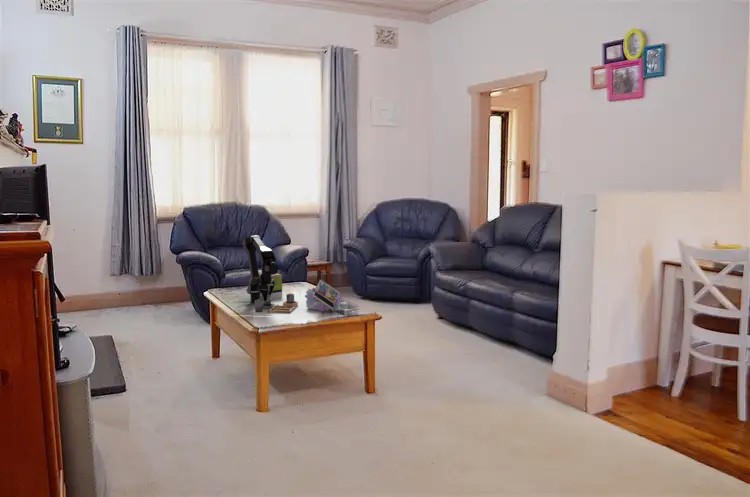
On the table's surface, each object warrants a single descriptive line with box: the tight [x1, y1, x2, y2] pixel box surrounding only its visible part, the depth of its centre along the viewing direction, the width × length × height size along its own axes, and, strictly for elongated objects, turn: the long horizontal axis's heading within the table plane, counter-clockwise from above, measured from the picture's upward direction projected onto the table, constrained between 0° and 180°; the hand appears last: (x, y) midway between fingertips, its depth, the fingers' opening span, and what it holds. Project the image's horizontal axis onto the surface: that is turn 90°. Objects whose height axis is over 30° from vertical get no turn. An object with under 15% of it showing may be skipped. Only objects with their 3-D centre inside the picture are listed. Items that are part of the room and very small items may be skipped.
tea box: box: [259, 272, 283, 300], centre depth 399 cm, size 15×10×15 cm, turn 37°
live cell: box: [262, 294, 272, 306], centre depth 363 cm, size 4×4×8 cm
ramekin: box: [282, 300, 299, 308], centre depth 367 cm, size 8×8×3 cm
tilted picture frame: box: [304, 279, 342, 313], centre depth 361 cm, size 20×22×18 cm
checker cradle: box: [263, 303, 282, 311], centre depth 363 cm, size 12×10×2 cm
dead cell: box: [285, 292, 295, 303], centre depth 367 cm, size 4×4×8 cm
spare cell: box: [254, 298, 264, 313], centre depth 352 cm, size 4×4×8 cm
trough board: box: [268, 304, 296, 314], centre depth 356 cm, size 14×12×2 cm
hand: (266, 299), depth 363 cm, fingers open, 9 cm apart
